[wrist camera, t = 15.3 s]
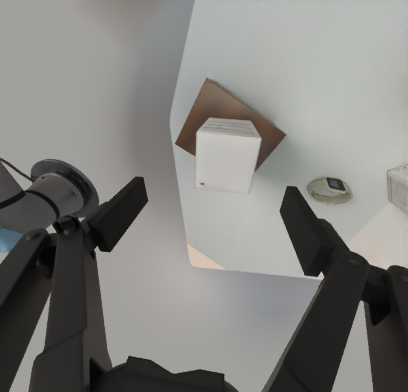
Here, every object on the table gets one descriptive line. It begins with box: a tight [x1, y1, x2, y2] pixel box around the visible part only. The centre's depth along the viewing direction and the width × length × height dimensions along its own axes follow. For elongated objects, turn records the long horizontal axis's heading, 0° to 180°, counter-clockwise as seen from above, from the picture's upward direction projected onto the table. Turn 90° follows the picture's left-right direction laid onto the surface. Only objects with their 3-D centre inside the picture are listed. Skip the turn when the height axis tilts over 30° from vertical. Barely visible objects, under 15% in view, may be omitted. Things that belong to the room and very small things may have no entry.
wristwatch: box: [308, 178, 353, 204], centre depth 41 cm, size 9×6×5 cm
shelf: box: [175, 78, 286, 172], centre depth 35 cm, size 16×12×10 cm
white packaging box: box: [195, 118, 262, 194], centre depth 25 cm, size 7×7×13 cm
